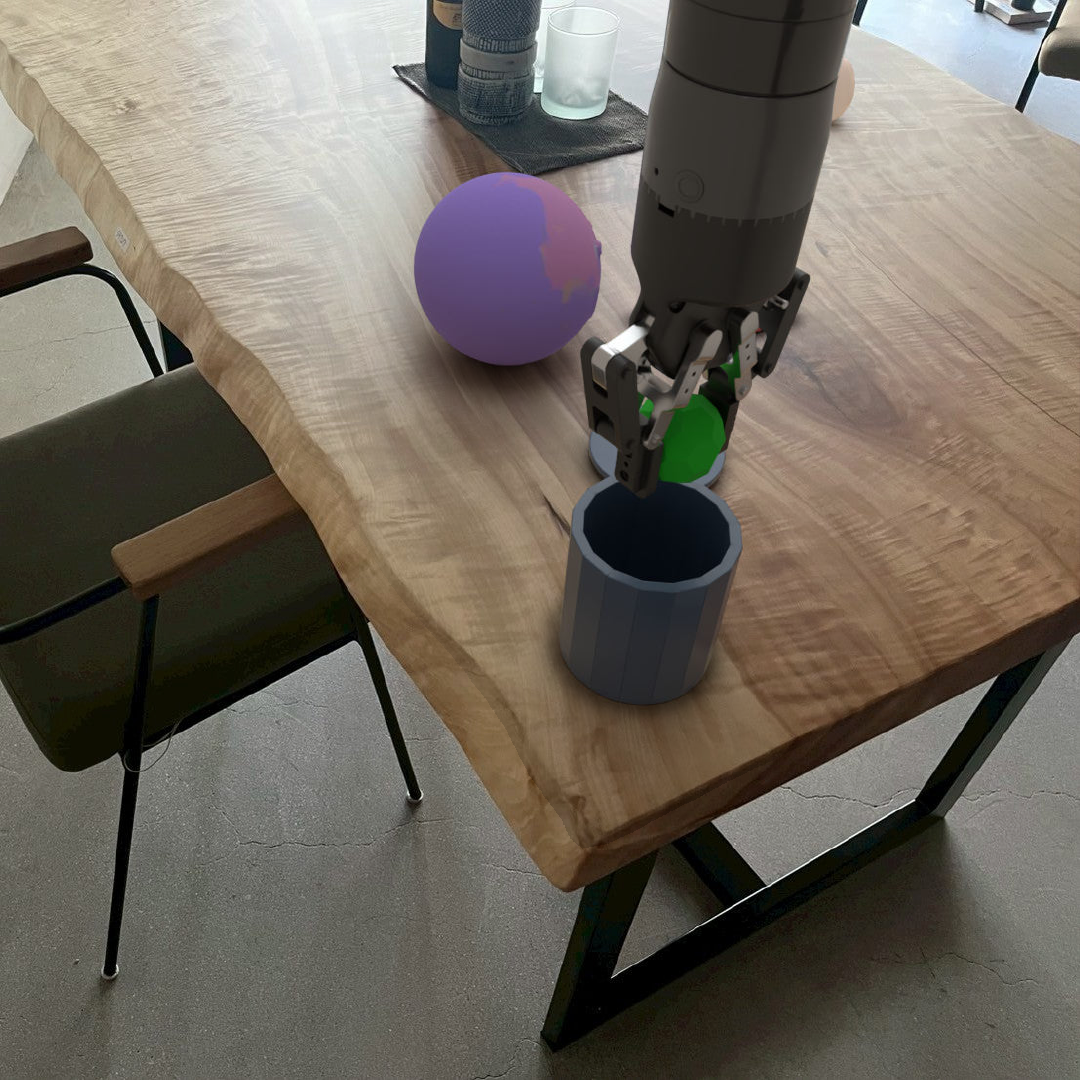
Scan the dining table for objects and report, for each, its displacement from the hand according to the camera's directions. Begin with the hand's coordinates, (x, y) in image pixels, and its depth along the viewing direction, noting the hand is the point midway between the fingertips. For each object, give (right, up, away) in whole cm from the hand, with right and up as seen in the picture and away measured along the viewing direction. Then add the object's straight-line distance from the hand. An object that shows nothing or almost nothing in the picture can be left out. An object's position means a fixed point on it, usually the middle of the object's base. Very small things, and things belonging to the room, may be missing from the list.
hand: (672, 465), depth 57 cm
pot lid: (+2, +3, +23) cm, 24 cm away
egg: (+27, +46, +69) cm, 88 cm away
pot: (-1, -11, +11) cm, 15 cm away
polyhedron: (0, 0, 0) cm, 1 cm away
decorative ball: (-10, +12, +33) cm, 37 cm away
